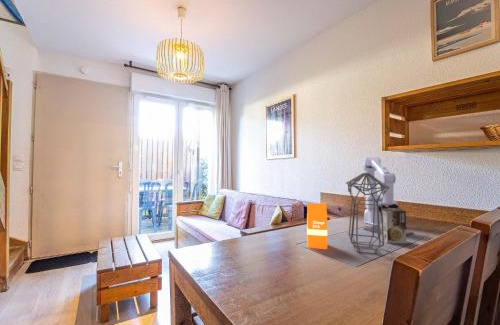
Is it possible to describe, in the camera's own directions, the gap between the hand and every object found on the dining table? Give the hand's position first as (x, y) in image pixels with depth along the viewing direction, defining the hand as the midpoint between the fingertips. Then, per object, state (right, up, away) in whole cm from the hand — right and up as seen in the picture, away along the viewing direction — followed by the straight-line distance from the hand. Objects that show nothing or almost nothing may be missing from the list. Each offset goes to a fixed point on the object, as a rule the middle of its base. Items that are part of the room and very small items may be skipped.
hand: (387, 217), depth 137 cm
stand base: (0, -8, 0) cm, 8 cm away
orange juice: (-48, -8, -25) cm, 55 cm away
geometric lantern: (-28, -8, -32) cm, 43 cm away
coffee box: (-8, -8, -18) cm, 21 cm away
